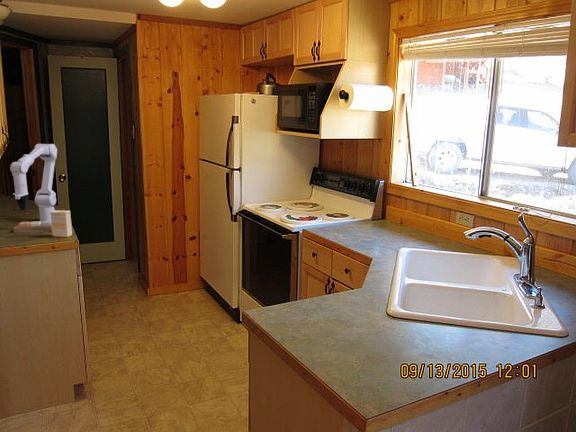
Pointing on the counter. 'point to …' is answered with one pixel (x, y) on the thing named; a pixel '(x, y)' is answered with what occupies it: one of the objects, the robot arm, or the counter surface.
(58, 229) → the supplement box
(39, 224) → the cream key
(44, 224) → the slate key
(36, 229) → the key panel
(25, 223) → the terracotta key
